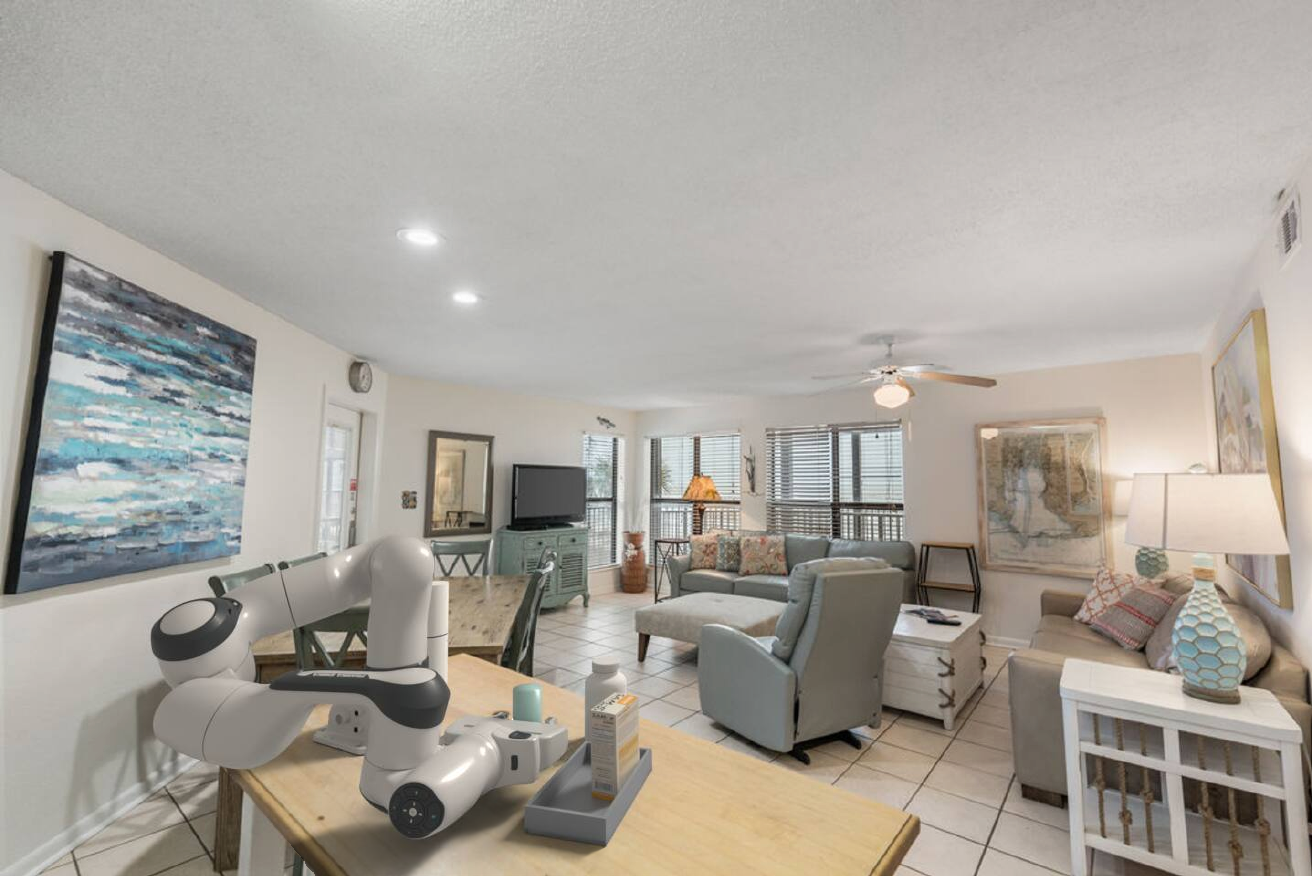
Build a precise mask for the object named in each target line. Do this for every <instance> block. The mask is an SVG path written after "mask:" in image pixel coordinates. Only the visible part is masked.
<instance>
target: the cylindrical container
mask: <svg viewBox="0 0 1312 876" xmlns="http://www.w3.org/2000/svg"><path fill="white" fill-rule="evenodd" d="M449 586H450V581H447V580H434V581H433V582H432V591H431V598H430V605H429V611H428V623H427V655H428V656H429V669H433V670H435V671H436V672H437V673H439V675H440V676H441V677H442V678H443V679H444V681H445V682H446V684H447V685H448V678H449V677H448V676H449V675H448V674H449V673H448V670H449V669H448V667H449V666H448V664H449V662H448V661H449V603H450V600H449V597H450V593H449V592H450V587H449Z"/></svg>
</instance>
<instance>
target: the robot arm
mask: <svg viewBox="0 0 1312 876" xmlns="http://www.w3.org/2000/svg"><path fill="white" fill-rule="evenodd" d="M434 571H435V558H434V554H433V551H432V549H431V548H430V546H429V545H428V544H426V542H424V541H423V540H420V539H419V538H416V537H412V536H410V535H406V534H404V533H403V534H402V533H392V534H387V535H385V536H382V537H378V538H376V539H372V540H369V541H366V542H363V543H360V544H358V545H355V546H352V547H350V548H346V549H344V550H341V551H338V552H336V553H333V554H330V555H327V556H324V557H321V558H320V557H319V558H317V559H314V560H311V561H310V560H309V561H308V562H304V563H301V564H298V565H295V566H290V567H288V568H284V569H282V570H278V571H275V572H272V573H269V574H267V575H264V576H261V577H258V578H255V579H253V580H251V581H249V582H247V583H244V584H242V585H240V586H238V587H235V588H233V589H231V590H229V591H227V592H226V593H224V594H222V596H221V597H220V596H219V597H218V596H217V597H214V596H213V597H202V598H196V599H190V600H187V601H184V602H182V603H179V604H178V605H176V606H172V608H170V609H169V610H167V611H166V612H165V613H163V615H162V616H160V617H159V619H157V620H156V622H155V623H154V624H153V626H152V628H151V630H150V648H151V651H152V654H153V655H154V657H156V659H157V662H158V666H159V668H160V671H161V673H162V677H163V678H164V680H165V683H166V684H167V685H168V686H169V687H171V691H169V692H168V693H167V695H165V697H164V698H163V699H162V700H161V701H160V703H159V705H158V707H157V709H156V711H155V714H154V717H153V721H152V728H153V733H154V736H155V737H156V738H157V740H158V741H159V742H161V743H162V744H163V745H165V746H167V748H170V749H172V750H173V751H175V752H178V753H180V754H182V755H184V756H187V757H189V758H192V759H195V760H197V761H200V762H203V763H208V764H210V765H215V766H218V767H222V768H227V769H233V770H250V769H255V768H258V767H261V766H263V765H266V764H267V763H269V762H271V761H272V760H274V759H276V758H277V757H278V756H279V755H281V754H282V753H283V752H284V751H285V750H286V749H287V748H288V747H289V746H290V745H291V744H292V743H293V742H294V741H295V739H297V738H298V735H299V734H300V733H301V732H302V730H303V728H304V726H305V725H306V723H307V721H308V719H309V718H310V716H311V714H312V712H313V711H314V710H315V708H316V707H317V706H318V705H319V704H329V705H330V704H331V707H330V710H329V713H328V719H327V724H326V725H324V726H322V727H321V728H319V729H317V731H316V732H315V733H314V735H313V736H312V741H313V742H317V743H319V744H322V745H326V746H329V747H332V748H335V749H338V748H339V749H338V750H341V749H342V751H345V752H349V753H351V754H355V755H361V756H362V755H363V760H362V765H361V772H360V777H359V785H358V786H359V787H358V789H359V792H360V794H361V795H362V798H364V800H365V801H366V802H367V803H369V804H370V805H371V806H372V807H374V808H375V809H376V810H378V811H380V812H382V813H384V814H386V815H388V819H389V821H390V824H391V825H392V827H393V828H394V830H396V832H397V833H399V834H400V835H401V836H403V837H405V838H409V839H412V840H422V839H425V838H429V837H432V836H434V835H437V834H438V833H440V832H441V831H443V830H445V829H446V828H448V827H450V826H451V825H452V824H453V823H455V822H456V821H458V820H459V819H460V818H461V817H462V816H463V815H465V813H467V812H468V811H469V810H470V809H471V808H472V807H473V806H474V805H475V804H476V803H477V802H478V800H479V799H480V797H481V796H483V795H486V794H487V793H489V792H490V791H491V790H496V789H497V790H498V789H500V788H503V787H509V786H515V785H516V786H517V785H518V786H519V785H529V784H534V783H535V782H537V780H538V779H539V775H540V772H542V771H545V770H547V769H549V768H551V767H552V766H553V765H554V764H555V763H556V762H557V761H559V760H560V758H562V756H564V754H565V753H566V751H567V750H568V747H569V746H568V745H569V732H568V729H567V726H566V725H563V724H558V718H557V717H553V716H548V717H547V718H546V719H545V720H544V722H542V723H537V722H528V721H519V720H513V719H510V718H509V716H510V713H509V712H505V711H504V712H503V711H500V712H499V713H497V714H494V715H490V716H480V715H479V716H478V715H471V714H467V715H463V716H460V717H458V718H457V719H456V720H454V721H453V722H452V723H451V724H450V725H448V726H447V727H446V728H445V730H444V733H443V734H442V735H441V733H442V729H443V728H442V726H443V721H444V719H445V716H446V713H447V709H448V706H449V702H450V698H451V689H450V688H449V686H448V683H447V684H446V682H445V681H444V679H443V678H442V677H441V676H440V675H439V673H437V672H436V671H435V670H433V669H429V656H428V655H427V623H428V611H429V605H430V598H431V591H432V582H433V579H434ZM368 599H370V603H369V604H370V605H369V612H368V620H367V634H366V635H367V636H366V639H367V641H366V662H364V664H362V665H360V666H357V667H355V668H347V667H344V668H342V667H307V668H304V667H303V668H299V669H293V670H288V671H286V672H283V673H281V674H280V675H277V676H276V677H275V678H274V679H273V680H272V682H271V683H259V682H260V673H259V669H258V666H257V665H256V663H255V657H254V652H253V651H252V647H253V646H254V645H255V644H256V643H257V642H259V641H260V640H262V639H264V638H269V637H271V636H276V635H279V634H283V633H286V632H289V631H292V630H295V629H297V628H300V627H304V626H306V625H309V624H312V623H315V622H318V621H320V620H322V619H326V618H329V617H332V616H334V615H336V614H340V613H343V612H345V611H347V610H348V609H350V608H352V607H354V606H355V605H359V604H360V603H362V602H364V601H366V600H368Z"/></svg>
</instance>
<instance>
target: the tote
mask: <svg viewBox="0 0 1312 876" xmlns="http://www.w3.org/2000/svg"><path fill="white" fill-rule="evenodd" d="M639 750H640V761H639V763H638V764H637V766H636V767H635V769H634V770H633V772H632V773H631V775H630V776H629V778H628V779H627V781H626V782H625V784H624V785H623V787H622V788H621V790H620V791H619V793H618V794H617V796H616V797H615V799H614V801H613V802H612V801H607V800H603V799H599V798H594V797H592V785H591V741H585V740H584V742H583V743H581V745H580V746H579V747H578V748H577V749H576V750H575V752H573V754H571V756H570V757H569V758H568V759H567V760H566V761H565V762H564V763H563V764H562V765H561V767H560V768H559V769H557V771H556V772H554V774H553V775H552V776H551V777H550V778H549V779H548V780H547V782H545V784H543V786H542V787H541V788H540V789H539V790H538V791H537V792H535V794H534V795H533V797H532V798H531V799H530V800H529V801H528V802H527V803H526V804H525V805H524V834H530V835H536V836H543V837H548V838H554V839H561V840H565V841H572V842H577V843H584V844H589V845H596V846H599V847H600V846H601V847H607V846H608V845H609V842H610V841H611V840H612V838H613V836H614V834H615V833H616V831H617V829H618V827H619V826H620V824H621V822H622V821H623V820H624V818H625V816H626V814H627V812H628V811H629V809H630V807H631V806H632V804H633V803H634V801H635V800H636V798H637V796H638V794H639V793H640V791H641V789H642V788H643V786H644V784H645V782H646V780H647V779H648V778H649V776H650V774H651V772H652V771H653V762H652V761H653V760H652V759H653V758H652V757H653V755H652V753H653V751H652V748H649V747H642V746H639Z"/></svg>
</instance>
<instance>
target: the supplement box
mask: <svg viewBox="0 0 1312 876" xmlns="http://www.w3.org/2000/svg"><path fill="white" fill-rule="evenodd" d="M639 697H640V696H639V695H636V694H630V693H627V694H624V693H613V694H612V695H611V696H609V697H608V698H606V699H605V700H604V701H602V702H601V703H600V704H598V705H597V706H595V707H594V708H593V709H591V710H590V721H591V785H592V797H594V798H599V799H603V800H607V801H612V802H613V801H614V799H615V797H616V796H617V794H618V793H619V791H620V790H621V788H622V787H623V785H624V784H625V782H626V781H627V779H628V778H629V776H630V775H631V773H632V772H633V770H634V769H635V767H636V766H637V764H638V763H639V761H640V750H639V747H640V703H639V701H640V700H639V699H640V698H639Z"/></svg>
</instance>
